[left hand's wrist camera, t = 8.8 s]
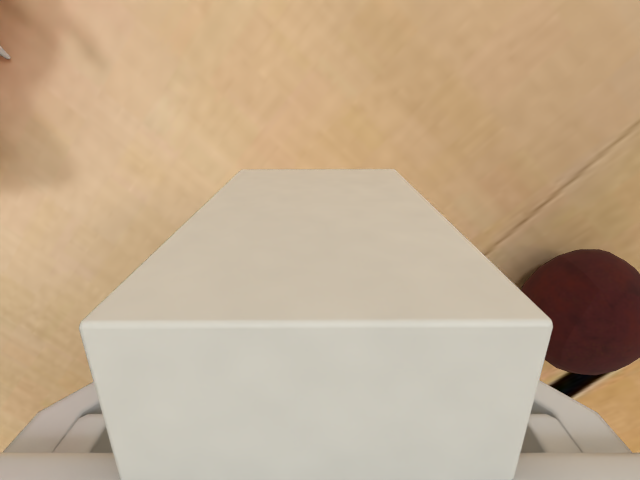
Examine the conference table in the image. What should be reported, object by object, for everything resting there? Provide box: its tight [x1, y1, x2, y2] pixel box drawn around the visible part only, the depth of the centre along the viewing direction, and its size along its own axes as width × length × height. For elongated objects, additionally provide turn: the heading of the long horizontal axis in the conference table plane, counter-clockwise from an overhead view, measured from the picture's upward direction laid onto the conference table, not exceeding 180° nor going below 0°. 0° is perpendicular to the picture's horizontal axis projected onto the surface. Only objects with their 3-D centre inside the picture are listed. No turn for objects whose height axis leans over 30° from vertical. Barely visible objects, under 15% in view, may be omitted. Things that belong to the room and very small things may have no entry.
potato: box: [521, 249, 640, 375], centre depth 23 cm, size 7×8×7 cm
